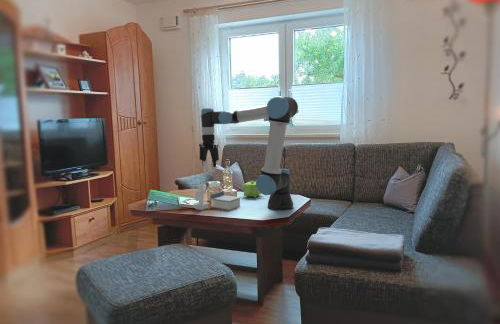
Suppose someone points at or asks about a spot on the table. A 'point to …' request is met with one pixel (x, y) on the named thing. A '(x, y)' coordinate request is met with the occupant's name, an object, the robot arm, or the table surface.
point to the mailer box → (225, 204)
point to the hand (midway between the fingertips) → (209, 171)
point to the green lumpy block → (250, 189)
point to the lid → (223, 197)
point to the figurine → (200, 198)
